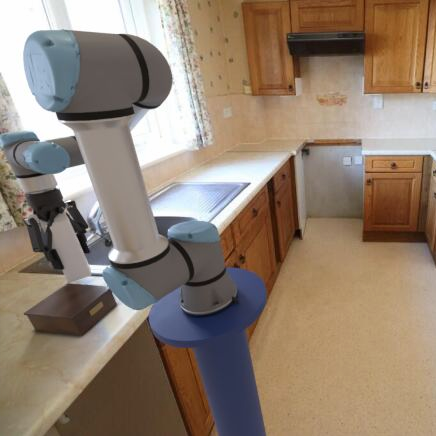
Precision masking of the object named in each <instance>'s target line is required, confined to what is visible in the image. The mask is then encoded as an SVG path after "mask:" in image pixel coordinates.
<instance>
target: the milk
mask: <svg viewBox="0 0 436 436" xmlns="http://www.w3.org/2000/svg"><path fill="white" fill-rule="evenodd" d="M61 208H63V207H61ZM63 209H64V208H63ZM66 212H67V211H66V208H65V209H64V212H63V213H62V214H61V213H59V214H58V215H57V216H56V217H55V218H54V222H53V223H52V226H51V227H50V229H51V232H52V249H56V251H57V253H58V255H59V257H60V260H61V262H62V264H63V266H64V269H63V270H61V271H62V273H63V275H64V278H65V279H66V281H67V283H70V284H71V283H73V282H76V281H79V280H82V279H85V278H88V277H91V276H93V274H92V270H91V267H90V264H89V262H88V259H87V257H86V254H84V252H83V250H82V247H81V245H80V243H79V240H78V238H77V236H76V234H77V233H75V231H74V229H73V227H72V225H71V223H70V220H69V218H68V216H67V215H66ZM40 223H41V226H42V229H43V231H44V233H45V231H46V228H47V224H48V222H44V221H41V220H40Z"/></svg>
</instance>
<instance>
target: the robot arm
mask: <svg viewBox="0 0 436 436" xmlns="http://www.w3.org/2000/svg"><path fill="white" fill-rule="evenodd" d="M22 57H23V58H22V60H23V61H22V62H23V69H24V75H25V79H26V82H27V84H28V87H29V90H30V92H31V94H32V95H33V96H34V99H35V102H36V103H37V104H38V105H39V106H40V107H41V108H42V109H43V110H45V111H47V112H51V113H55V115H56V118H57V121H58V122H59V123H61V124H62V125H65V126H66V127H68V128H69V129H71V130H72V131H73V134H74V135H70V136H64V137H57V138H51V139H45V140H40V138H39V136H38V135H37V133H36V132H35V131H34V130H18V131H9V132H4V133H1V134H0V149H1V151H3V153H4V155H5V157H6V160H7V162H8V164H9V166H10V167H11V170H12V172H13V174H14V176H15V178H16V181H17V182H18V185H19V187H20V189H21V191H22V192H23V193H24V198H25V200H26V202H27V204H28V206H29V207H30V208H31V209H32V214H31V215H30V216H28V217H23V218H22V222H23V223H24V224H25V226H26V229H27V233H28V236H29V240H30V244H31V249H32V252H33V253H42V254H43V255H44V257H45V259H46V261H47V262H50V263H51V265H52V267H53V270H60V271H62V270H63V269H64V266H63V264H62V262H61V260H60V257H59V255H58V253H57V251H56V249H52V232H51V229H50V227H51V226H52V223H53V222H54V218H55V217H56V216H57V215H58V214H59V213H61V214H62V213H63V212H64V209H65V210H66V211H65V212H66V215H67V216H68V218H69V220H70V223H71V225H72V227H73V229H74V231H75V233H76V236H77V238H78V240H79V243H80V245H81V247H82V250H83V252H84V254H85V255H86V254H90V253H91V250H90V248H89V246H88V243H87V242H88V238H87V236H86V234H87V232H88V230H87V229H89V228H90V226H89V224H88V223H87V221H86V220H85V218H84V217H83V215H82V214H81V212H80V210H79V209H78V207H77V203H76V201H75V200H73V199H72V200H68V199H67V200H65V201H64V196H63V194H62V191H61V189H60V188H59V187H58V181H57V179H56V177H55V175H58V174H60V173H63V172H64V171H66V170H67V169H69V168H70V169H71V168H73V167H74V168H75V167H78V166H82V165H85V168H86V171H87V174H88V177H89V180H90V183H91V186H92V188H93V191H94V194H95V197H96V200H97V203H98V205H99V209H100V211H101V214H102V216H103V220H104V223H105V225H106V228H107V231H108V235H109V236H110V239H111V242H112V245H113V246H112V248H110V250H109V252H108V254H107V256H108V257H107V258H108V259H109V263H110V265H109V266H106V267H105V268H104V269H103V270H102V278H103V280H104V283H105V284H106V286H108V287H109V288H110V290H111V291H112V293H113V296H114V297H116V299H118V300H119V301H120V303H122V304H123V305H125V306H126V307H127V308H129V309H132V310H134V311H142V310H145V309H146V308H148V307H150V306H152V305H153V303H157V302H158V300H160V299H161V298H163V297H165V296H166V295H168V294H169V293H171V292H172V291H174V290H176V289H177V288H179V287H180V286H181V291H180V306H181V309H182V311H183V312H184V313H185V314H186V315H188V316H191V317H208V316H212V315H216V314H218V313H220V312H222V311H224V310H226V309H227V308H229V307H230V306H231V305H232V304H233V303H234V302H236V303H238V302H239V300H238V299H237V296H238V291H237V286H236V284H235V282H234V281H233V280H232V278H231V277H230V275H229V273H228V272H227V270H226V268H227V267H226V262H225V256H224V252H223V248H222V241H221V240H222V239H221V236H220V233H219V229H218V227H217V226H216V225H215V224H214V223H212V222H210V221H205V220H189V221H183V222H178V223H176V224H174V225H172V226H169V228H168V229H167V234H166V235H167V237H168V238H167V237H166V236H164V235H162V234H160V233H159V230H158V226H157V222H156V219H155V215H154V212H153V208H152V205H151V201H150V197H149V194H148V190H147V186H146V183H145V180H144V176H143V172H142V168H141V164H140V160H139V158H138V153H137V150H136V147H135V143H134V139H133V136H132V131H133V130H134V129H135V128H136V126H137V125H138V124H139V123H140V122H141V120H142V119H143V118H144V117H145V116H146V115H147V113H149V111H150V110H155V109H158V108H159V107H160V106H161V105H162V104H163V103H164V102H165V101H166V99H167V98H168V97H169V96H170V93H171V91H172V88H173V81H174V80H173V74H172V69H171V66H170V64H169V62H168V60H167V57H165V55H164V54H163V53H162V51H161V50H160V49H158V48H157V47H156V46H155V45H154V44H153V43H151V42H150V41H148V40H146V39H145V38H143V37H140V36H137V35H134V34H130V33H108V32H99V31H85V30H74V29H73V30H72V29H64V28H62V29H45V30H43V29H42V30H41V29H40V30H36V31H34V32H31V34H30V35H28V36H27V38H26V40H25V42H24V47H23V52H22ZM61 207H63V208H64V209H63V208H61ZM40 220H41V221H44V222H48V224H47V228H46V231H45V233H44V231H43V229H42V226H41V223H40Z"/></svg>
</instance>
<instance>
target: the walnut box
mask: <svg viewBox="0 0 436 436" xmlns="http://www.w3.org/2000/svg"><path fill="white" fill-rule="evenodd" d="M117 305H118V304H117V301H116V299H115V295H114V294H113V292H112V291H111V290H110V288H109V287H108V286H107V285H95V284H94V285H93V284H81V283H71V282H70V283H68V282H67V283H66V284H64V285H63V286H62V287H60V288H59V289H57V290H55V291H54V292H52V293H51V294H49V295H48V296H46V297H45V298H44V299H42V300H40V301H39V302H37V303H36V304H35V305H34V306H32V307H30V308H29V309H28V310H26V311H24V312H23V315H24V316H26V317H27V318H28V320H29V322H30V324H31V325H32V327H33V328H34V331H36V332H44V333H45V332H46V333H53V334H62V335H64V334H65V335H73V336H81V337H82V336H83V335H84V334H85V333H86V332H87V331H89V329H92V327H93V326H94V325H96V324H97V322H99V321H100V320H102V318H103V317H104V316H106V315H107V314H108V313H109V312H110V311H111V310H112V309H113V308H115V307H116V306H117Z"/></svg>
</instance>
